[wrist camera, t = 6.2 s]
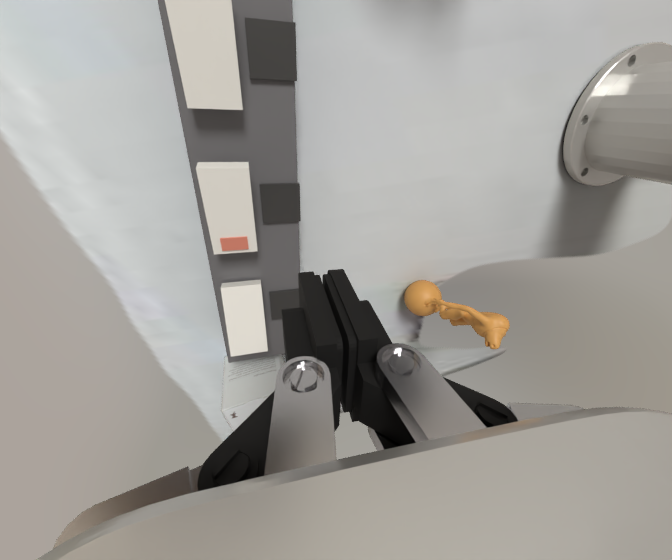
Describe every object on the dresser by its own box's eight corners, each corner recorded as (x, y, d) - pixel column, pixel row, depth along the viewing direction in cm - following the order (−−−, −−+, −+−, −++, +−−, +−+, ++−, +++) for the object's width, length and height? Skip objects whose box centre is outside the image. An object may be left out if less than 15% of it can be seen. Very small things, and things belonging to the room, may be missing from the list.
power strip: (276, -224, 16) (286, -321, 12) (297, 326, 34) (303, 353, 30) (120, -269, 14) (78, -398, 10) (230, 335, 32) (228, 365, 28)
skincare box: (241, 390, 36) (240, 449, 30) (223, 355, 33) (218, 412, 27) (290, 374, 37) (300, 428, 31) (277, 338, 34) (285, 391, 28)
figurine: (378, 286, 34) (436, 363, 24) (415, 244, 32) (492, 307, 22) (424, 314, 38) (489, 391, 28) (458, 278, 36) (540, 345, 26)
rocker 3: (260, 279, 25) (261, 283, 24) (267, 344, 27) (268, 351, 26) (222, 283, 24) (220, 288, 23) (231, 349, 26) (230, 356, 25)
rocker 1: (227, -35, 15) (227, -37, 14) (242, 105, 19) (242, 110, 18) (159, -45, 14) (154, -48, 13) (189, 103, 18) (187, 108, 17)
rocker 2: (248, 161, 19) (248, 168, 18) (256, 242, 23) (257, 251, 22) (197, 162, 19) (195, 169, 18) (214, 245, 22) (213, 255, 21)
